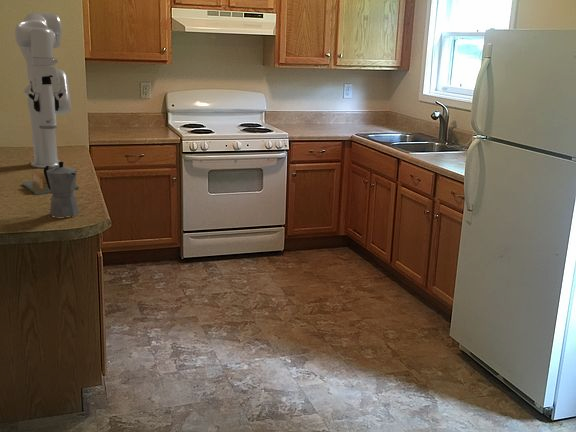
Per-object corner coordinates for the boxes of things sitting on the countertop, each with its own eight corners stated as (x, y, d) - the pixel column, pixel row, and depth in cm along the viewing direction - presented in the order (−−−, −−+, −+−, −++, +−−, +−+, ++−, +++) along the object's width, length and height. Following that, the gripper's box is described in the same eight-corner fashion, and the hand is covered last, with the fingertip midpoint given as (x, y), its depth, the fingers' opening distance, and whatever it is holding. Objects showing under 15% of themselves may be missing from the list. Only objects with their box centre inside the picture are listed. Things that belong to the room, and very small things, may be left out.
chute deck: (22, 184, 244) (21, 172, 243) (64, 179, 254) (63, 167, 252) (35, 194, 231) (34, 181, 230) (78, 189, 241) (77, 176, 239)
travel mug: (52, 129, 240) (47, 75, 234) (36, 128, 241) (31, 75, 235) (60, 127, 246) (57, 74, 240) (45, 126, 247) (41, 74, 241)
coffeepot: (89, 215, 210) (86, 162, 205) (66, 221, 203) (62, 167, 197) (59, 206, 218) (55, 155, 213) (35, 212, 211) (31, 159, 205)
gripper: (63, 62, 244) (66, 108, 249) (16, 62, 234) (20, 111, 239) (69, 63, 239) (72, 110, 244) (21, 63, 229) (26, 113, 234)
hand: (46, 110), depth 241 cm, fingers closed on travel mug, 6 cm apart
